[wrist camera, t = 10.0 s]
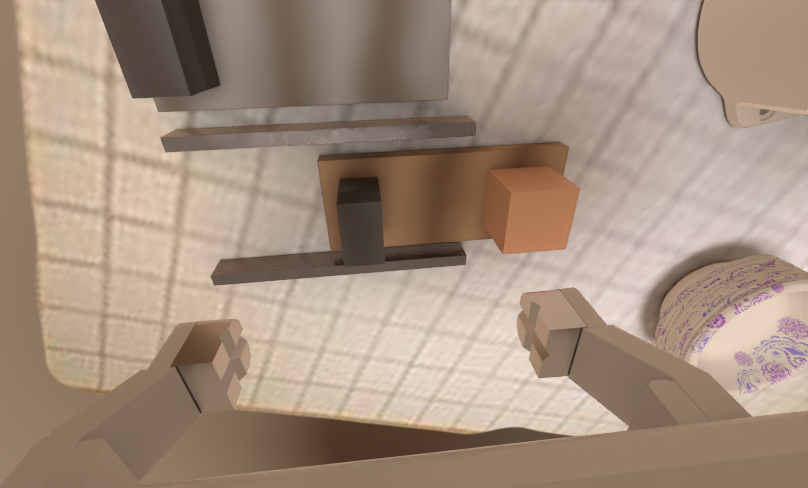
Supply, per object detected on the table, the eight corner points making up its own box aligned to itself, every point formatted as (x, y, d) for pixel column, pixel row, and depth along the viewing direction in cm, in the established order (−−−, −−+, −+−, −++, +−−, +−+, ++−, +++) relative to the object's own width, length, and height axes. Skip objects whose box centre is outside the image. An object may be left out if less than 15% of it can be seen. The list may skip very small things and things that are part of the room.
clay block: (547, 166, 29) (580, 188, 25) (537, 220, 32) (565, 249, 28) (488, 169, 29) (511, 192, 25) (483, 224, 31) (502, 254, 27)
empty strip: (447, -36, 23) (475, -59, 18) (443, 96, 27) (465, 111, 22) (121, -32, 22) (37, -56, 16) (168, 108, 26) (115, 128, 20)
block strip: (559, 142, 30) (605, 166, 24) (543, 226, 34) (579, 263, 28) (319, 155, 28) (309, 184, 23) (331, 242, 32) (326, 285, 27)
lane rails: (479, -76, 22) (491, -88, 20) (459, 250, 34) (465, 264, 32) (107, -75, 21) (78, -88, 18) (223, 269, 33) (214, 285, 31)
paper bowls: (684, 230, 36) (759, 275, 30) (796, 249, 39) (888, 294, 33) (611, 339, 43) (659, 395, 37) (711, 348, 47) (772, 402, 40)
